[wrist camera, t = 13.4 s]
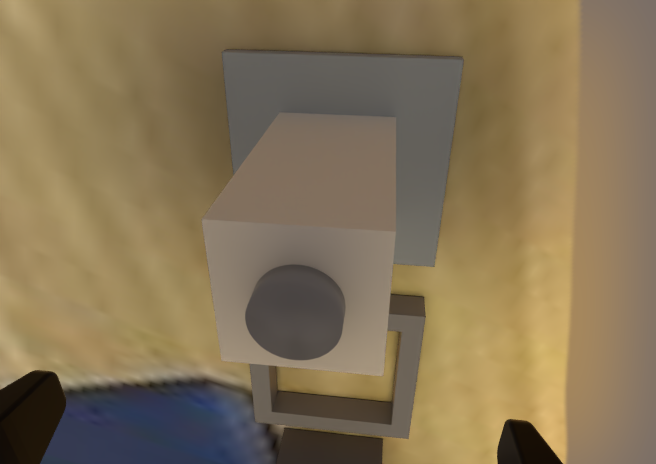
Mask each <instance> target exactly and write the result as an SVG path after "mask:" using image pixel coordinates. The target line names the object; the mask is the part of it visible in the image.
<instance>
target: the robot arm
mask: <svg viewBox="0 0 656 464" xmlns="http://www.w3.org/2000/svg"><path fill="white" fill-rule="evenodd" d="M65 407H66V397H65V394H64V392H63V389H62V387H61V384H60V381H59V379H58V376H57V375H56V374H55V373H54V372H51V371H41V370H35V371H32V372H30V373H28V374H26V375H25V376H23V377H21V378H20V379H18V380H16V381H15V382H13V383H11V384H10V385H8V386H6V387H5V388H3V389H1V390H0V464H40V463H41V460H42V458H43V456H44V454H45V452H46V450H47V447H48V445H49V443H50V441H51V439H52V437H53V435H54V432H55V430H56V428H57V426H58V424H59V422H60V419H61V417H62V415H63V413H64V410H65ZM497 460H498V464H563V463H562V462H561V461H560V459H559V458H558V457H557V455H556V454H555V453H554V452H553V450H552V449H551V448H550V447H549V445H548V444H547V443H546V441H545V440H544V439H543V438H542V436H541V435H540V434H539V433H538V431H537V430H536V429H535V427H534V426H533V425H532V424H531V423H530V422H528V421H523V420H513V419H508V420H507V421H506V422H505V424H504V427H503V431H502V434H501V438H500V441H499V445H498V450H497Z"/></svg>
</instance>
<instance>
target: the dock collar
mask: <svg viewBox="0 0 656 464" xmlns="http://www.w3.org/2000/svg"><path fill="white" fill-rule="evenodd" d="M425 317H426V316H425V304H424V297H415V296H403V295H391V294H390V305H389V317H388V328H387V330H388V331H399V340H398V349H397V358H396V367H395V377H394V386H393V395H392V403H389V402H380V401H370V400H360V399H351V398H341V397H331V396H321V395H312V394H302V393H292V392H283V391H277V375H276V366H271V365H260V364H250V373H251V383H252V393H253V403H254V414H255V422H259V423H268V424H277V425H286V426H295V427H304V428H313V429H322V430H331V431H340V432H349V433H359V434H368V435H377V436H386V437H395V438H404V439H408V438H409V431H410V424H411V417H412V410H413V403H414V396H415V389H416V382H417V374H418V367H419V360H420V353H421V346H422V339H423V332H424V325H425Z"/></svg>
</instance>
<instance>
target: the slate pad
mask: <svg viewBox="0 0 656 464" xmlns="http://www.w3.org/2000/svg"><path fill="white" fill-rule="evenodd" d="M222 60H223V70H224V81H225V91H226V102H227V112H228V123H229V133H230V144H231V154H232V165H233V175H234V174H235V173H236V171H237V170H238V169H239V167H240V166H241V164H242V163H243V162H244V160H245V159H246V158H247V156H248V155H249V154H250V152H251V151H252V149H253V148H254V147H255V145H256V144H257V143H258V141H259V140H260V139H261V137H262V136H263V134H264V133H265V132H266V130H267V129H268V128H269V126H270V125H271V123H272V122H273V121H274V119H275V118H276V117H277V115H278V114H279V113H280V112H285V113H309V114H334V115H358V116H383V117H396V236H395V248H394V259H393V264H402V265H416V266H429V267H434V265H435V258H436V251H437V244H438V237H439V230H440V223H441V216H442V209H443V202H444V195H445V188H446V181H447V174H448V167H449V160H450V153H451V146H452V139H453V132H454V125H455V118H456V111H457V104H458V97H459V90H460V83H461V76H462V69H463V62H464V59H463V58H462V57H455V56H423V55H391V54H359V53H327V52H295V51H263V50H231V49H226V50H224V51H223V52H222Z"/></svg>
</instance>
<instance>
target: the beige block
mask: <svg viewBox="0 0 656 464" xmlns="http://www.w3.org/2000/svg"><path fill="white" fill-rule="evenodd" d="M202 226H203V233H204V240H205V247H206V254H207V262H208V269H209V276H210V283H211V290H212V297H213V304H214V311H215V318H216V325H217V332H218V339H219V346H220V353H221V360H222V361H229V362H239V363H250V364H260V365H271V366H281V367H292V368H302V369H313V370H323V371H334V372H344V373H354V374H365V375H375V376H383V374H384V363H385V351H386V340H387V328H388V317H389V305H390V294H391V282H392V271H393V259H394V248H395V236H396V117H383V116H358V115H334V114H309V113H285V112H280V113H279V114H278V115H277V117H276V118H275V119H274V121H273V122H272V123H271V125H270V126H269V128H268V129H267V130H266V132H265V133H264V134H263V136H262V137H261V139H260V140H259V141H258V143H257V144H256V145H255V147H254V148H253V149H252V151H251V152H250V154H249V155H248V156H247V158H246V159H245V160H244V162H243V163H242V164H241V166H240V167H239V169H238V170H237V171H236V173H235V174H234V175H233V177H232V178H231V180H230V181H229V182H228V184H227V185H226V186H225V188H224V189H223V190H222V192H221V193H220V195H219V196H218V197H217V199H216V200H215V201H214V203H213V204H212V206H211V207H210V208H209V210H208V211H207V212H206V214H205V215H204V216H203V218H202Z"/></svg>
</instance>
